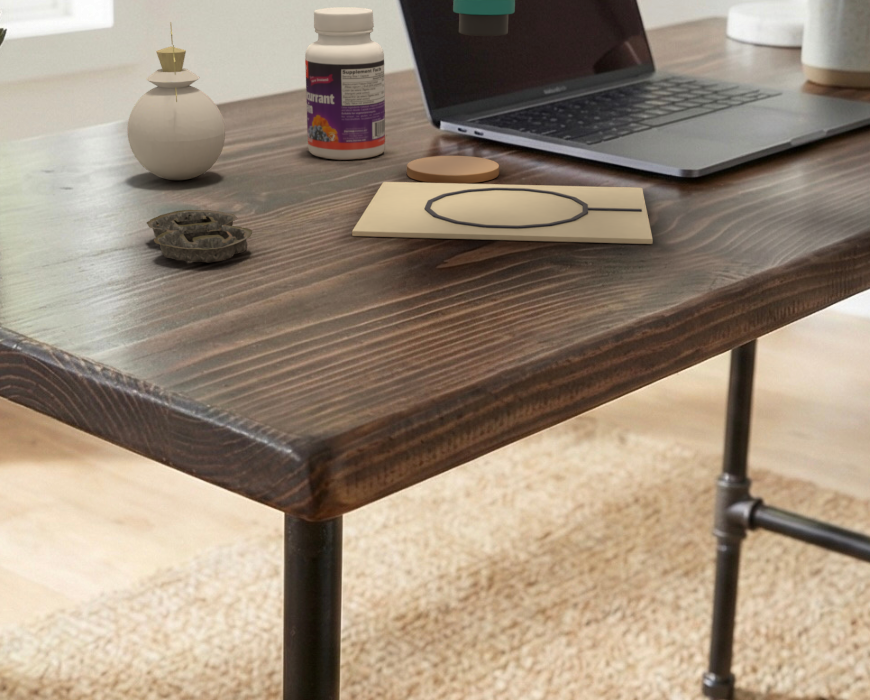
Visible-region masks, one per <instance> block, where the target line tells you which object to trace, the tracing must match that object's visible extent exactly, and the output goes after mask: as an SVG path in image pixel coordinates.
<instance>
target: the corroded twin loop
mask: <svg viewBox="0 0 870 700" xmlns="http://www.w3.org/2000/svg"><path fill="white" fill-rule="evenodd" d="M237 220H238V217H237V216H236V214H234V213H228V212H224V211H220V210H213V209H181V210H175V211H172V212H167V213H163V214H160V215H157V216H155V217H153V218H150V220H148V221H147V222H146V224H147V226H148V227H149V228H150V229H152V231H153V235H154V237H155V238H153V242H154V243H155V244H158V245H159V246H160V251H161V253H162V255H163V256H164V258H166V259H173V260H175V261H184V262H189V263H194V262H195V263H198V262H199V263H201V262H202V263H209V264H210V263H214V262H215V263H216V262H222V261H223V260H227V259H231V258H233V256H234V255H235V254H240V253H243V252H245V251H247V249H248V240H247V239H249V238H251V236H252V234H253V230H252V229H250V228H248V227H242V226H236V225H233V224H234V222H235V221H237Z"/></svg>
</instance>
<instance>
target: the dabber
mask: <svg viewBox="0 0 870 700" xmlns="http://www.w3.org/2000/svg"><path fill="white" fill-rule="evenodd" d="M452 2H453V5H452V11H453V13H455V14H459V15H458V20H459V21H458V33H459V34H461V35H466V36H476V37H477V36H478V37H495V36H497V37H498V36H505V35H508V32H509V15H512V14H515V11H516V10H515V9H516V0H452Z"/></svg>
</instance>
